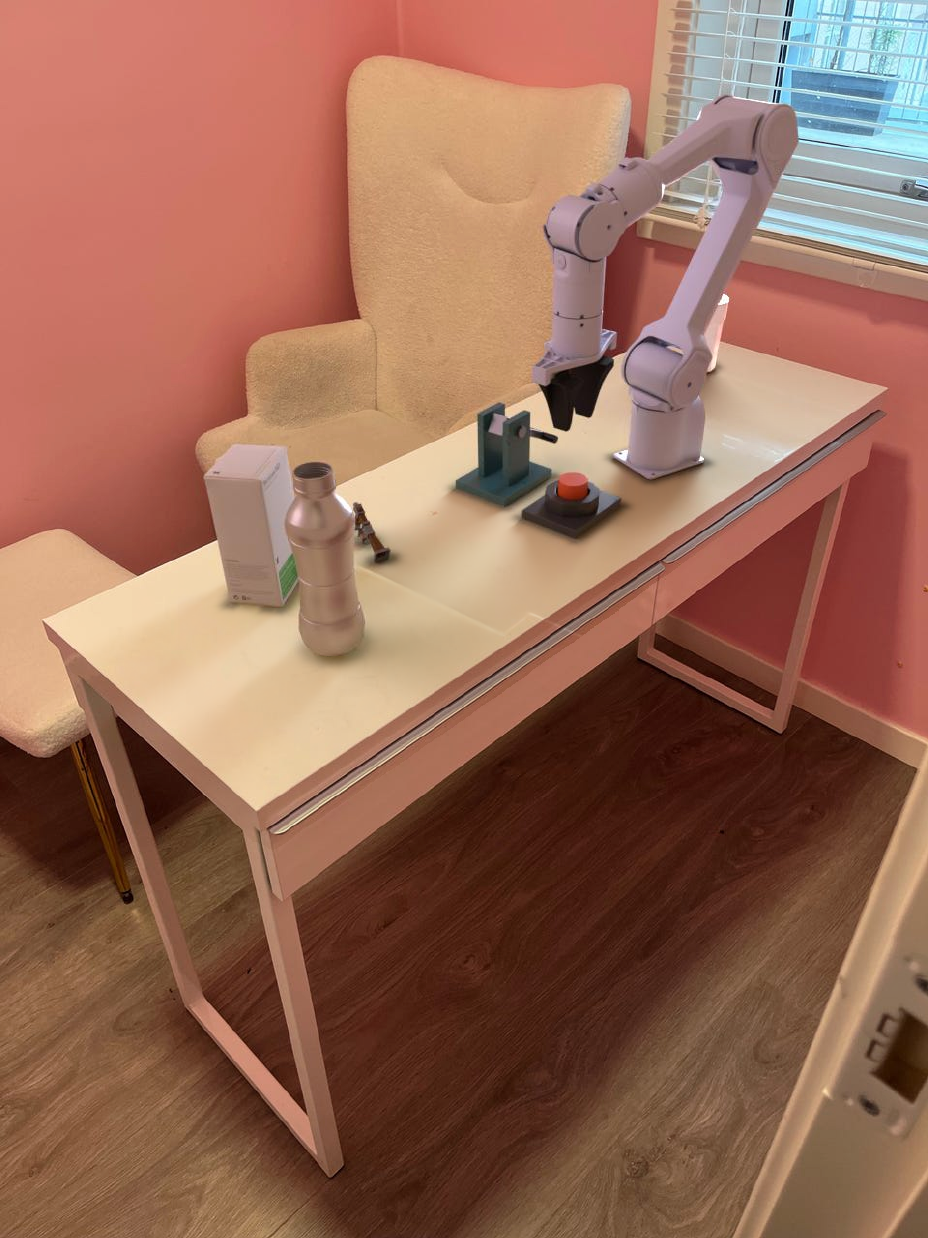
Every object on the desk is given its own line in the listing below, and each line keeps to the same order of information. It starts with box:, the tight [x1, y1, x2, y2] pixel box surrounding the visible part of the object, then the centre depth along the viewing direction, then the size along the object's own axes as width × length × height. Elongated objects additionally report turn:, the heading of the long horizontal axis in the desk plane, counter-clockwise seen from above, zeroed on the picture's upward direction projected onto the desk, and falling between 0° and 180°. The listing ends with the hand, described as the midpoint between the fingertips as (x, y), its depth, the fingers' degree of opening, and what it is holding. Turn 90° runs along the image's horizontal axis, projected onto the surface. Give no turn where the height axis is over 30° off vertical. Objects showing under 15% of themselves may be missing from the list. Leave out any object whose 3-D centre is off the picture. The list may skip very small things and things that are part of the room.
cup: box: [704, 294, 730, 373], centre depth 153 cm, size 7×7×11 cm
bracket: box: [455, 401, 552, 507], centre depth 124 cm, size 10×8×10 cm
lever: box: [488, 413, 559, 445], centre depth 125 cm, size 11×5×2 cm, turn 140°
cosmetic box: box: [203, 443, 299, 608], centre depth 104 cm, size 8×7×16 cm
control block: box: [521, 479, 622, 540], centre depth 119 cm, size 10×8×3 cm
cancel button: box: [557, 471, 589, 500], centre depth 118 cm, size 4×4×2 cm
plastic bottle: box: [284, 461, 366, 657], centre depth 94 cm, size 6×7×20 cm
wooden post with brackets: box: [352, 501, 391, 563], centre depth 114 cm, size 2×8×4 cm, turn 29°
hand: (572, 421), depth 118 cm, fingers open, 4 cm apart
